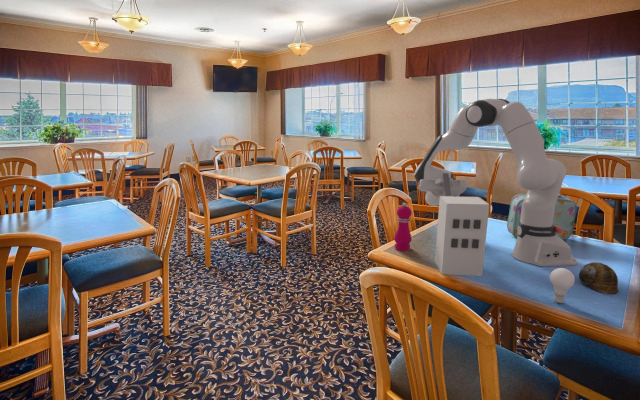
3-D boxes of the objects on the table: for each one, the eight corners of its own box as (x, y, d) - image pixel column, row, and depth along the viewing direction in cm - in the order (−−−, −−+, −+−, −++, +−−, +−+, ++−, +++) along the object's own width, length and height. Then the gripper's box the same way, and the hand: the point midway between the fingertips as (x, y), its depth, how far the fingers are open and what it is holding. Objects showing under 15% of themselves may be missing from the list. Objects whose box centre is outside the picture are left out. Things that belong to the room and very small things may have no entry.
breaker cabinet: (472, 263, 148) (478, 196, 142) (482, 276, 135) (490, 205, 130) (435, 261, 149) (439, 196, 143) (442, 275, 137) (447, 204, 131)
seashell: (570, 281, 132) (574, 259, 130) (594, 279, 134) (597, 257, 132) (599, 296, 121) (603, 272, 120) (624, 293, 123) (629, 270, 121)
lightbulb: (567, 299, 119) (572, 266, 116) (573, 309, 113) (579, 274, 111) (544, 296, 121) (549, 263, 118) (548, 305, 115) (553, 271, 113)
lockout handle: (451, 176, 167) (453, 171, 164) (457, 221, 155) (459, 216, 152) (437, 176, 167) (439, 171, 164) (442, 220, 156) (444, 215, 152)
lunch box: (563, 235, 181) (569, 191, 176) (575, 243, 171) (582, 195, 166) (504, 234, 183) (509, 190, 178) (512, 241, 173) (518, 194, 168)
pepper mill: (411, 252, 160) (413, 205, 155) (393, 250, 161) (395, 204, 156) (410, 246, 166) (413, 201, 162) (393, 245, 168) (395, 200, 163)
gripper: (416, 182, 178) (421, 171, 165) (461, 183, 176) (470, 173, 163) (416, 195, 176) (421, 185, 163) (462, 196, 174) (471, 187, 161)
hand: (446, 179), depth 163 cm, fingers closed on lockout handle, 2 cm apart
